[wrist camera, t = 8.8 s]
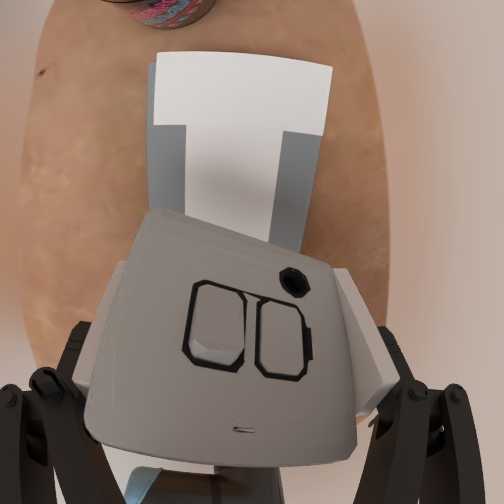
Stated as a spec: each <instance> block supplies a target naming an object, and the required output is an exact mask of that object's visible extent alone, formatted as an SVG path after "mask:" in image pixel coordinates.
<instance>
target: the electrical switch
mask: <svg viewBox="0 0 504 504" xmlns="http://www.w3.org/2000/svg"><path fill="white" fill-rule="evenodd" d="M84 420H85V425H86V428H87V429H88V430H89V432H90V434H91V436H92V438H93V439H95V440H96V441H98V442H100V443H102V444H104V445H106V446H109V447H113V448H117V449H121V450H125V451H129V452H133V453H138V454H142V455H147V456H152V457H157V458H163V459H168V460H174V461H181V462H189V463H198V464H206V465H218V466H233V467H293V466H309V465H321V464H329V463H334V462H339V461H343V460H347V459H348V458H349V457H350V455H351V454H352V452H353V451H354V449H355V448H356V446H357V430H356V414H355V402H354V390H353V380H352V370H351V361H350V353H349V345H348V339H347V333H346V328H345V323H344V317H343V312H342V307H341V303H340V298H339V293H338V289H337V286H336V282H335V278H334V274H333V271H332V268H331V266H330V265H329V264H327V263H326V262H323V261H320V260H317V259H314V258H312V257H309V256H306V255H303V254H300V253H297V252H294V251H291V250H288V249H285V248H282V247H280V246H277V245H274V244H271V243H268V242H265V241H262V240H259V239H256V238H253V237H250V236H247V235H244V234H241V233H238V232H235V231H232V230H229V229H226V228H223V227H220V226H217V225H214V224H211V223H208V222H205V221H202V220H199V219H196V218H193V217H190V216H187V215H184V214H181V213H178V212H175V211H172V210H169V209H166V208H156V209H153V210H151V211H148V212H147V213H146V215H145V217H144V219H143V221H142V223H141V225H140V228H139V230H138V232H137V235H136V237H135V240H134V242H133V245H132V247H131V250H130V252H129V255H128V258H127V261H126V263H125V266H124V269H123V272H122V274H121V277H120V280H119V283H118V286H117V289H116V292H115V295H114V298H113V301H112V304H111V307H110V311H109V314H108V317H107V320H106V324H105V327H104V331H103V334H102V338H101V341H100V345H99V349H98V353H97V357H96V361H95V365H94V369H93V373H92V377H91V382H90V386H89V391H88V396H87V401H86V406H85V411H84Z"/></svg>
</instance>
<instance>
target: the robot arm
mask: <svg viewBox="0 0 504 504" xmlns="http://www.w3.org/2000/svg"><path fill="white" fill-rule="evenodd" d="M125 263H126V261H121V260H119V262H118V264H117V266H116V268H115V271H114V273H113V275H112V277H111V279H110V281H109V284H108V286H107V288H106V290H105V293H104V295H103V297H102V299H101V302H100V304H99V307H98V309H97V311H96V314H95V316H94V319H93V321H92V322H85V321H80V322H79V323H78V324H77V325H76V326H75V327H74V328H73V329H72V332H71V334H70V336H69V339H68V341H67V344H66V346H65V349H64V351H63V354H62V356H61V359H60V361H59V364H58V367H57V369H56V370H55V369H53V368H51V367H42V368H40V369H37V370H36V371H35V372H34V373H33V374H32V376H31V378H30V380H29V387H30V388H31V389H32V391H22V390H21V389H20V388H19V387H17V386H16V385H14V384H7V385H5V386H4V387H2V388H1V390H0V504H57V498H56V490H55V480H54V469H55V472H56V475H57V479H58V482H59V485H60V488H61V491H62V494H63V496H64V499H65V502H66V504H285V502H284V495H283V488H282V482H281V476H280V470H279V467H233V466H218V465H214V474H202V473H190V472H180V471H172V470H164V469H163V468H151V467H143V466H142V467H137V468H135V469H134V470H133V471H132V473H131V475H130V477H129V480H128V483H127V487H126V491H125V495H124V497H123V495H122V493H121V491H120V489H119V487H118V484H117V482H116V480H115V478H114V475H113V473H112V471H111V468H110V466H109V463H108V461H107V458H106V456H105V453H104V450H103V447H102V445H101V443H100V442H98V441H96V440H95V439H93V438H92V436H91V434H90V432H89V430H88V429H87V428H86V425H85V420H84V411H85V406H86V401H87V396H88V391H89V386H90V382H91V377H92V373H93V369H94V365H95V361H96V357H97V353H98V349H99V345H100V341H101V338H102V334H103V331H104V327H105V324H106V320H107V317H108V314H109V311H110V307H111V304H112V301H113V298H114V295H115V292H116V289H117V286H118V283H119V280H120V277H121V274H122V272H123V269H124V266H125ZM332 271H333V274H334V278H335V282H336V286H337V289H338V293H339V298H340V303H341V307H342V312H343V317H344V323H345V328H346V333H347V339H348V345H349V353H350V361H351V370H352V380H353V390H354V402H355V414H356V416H361V415H366V414H370V413H371V412H372V411H373V410H374V409H375V408H376V407H377V410H378V413H379V414H378V415H377V416H376V417H375V418H374V419H373V420H372V421H371V422H370V423H369V425H368V427H371V426H372V425H373V424H374V427H373V432H372V437H371V441H370V446H369V450H368V454H367V458H366V462H365V465H364V469H363V473H362V476H361V480H360V483H359V486H358V490H357V493H356V496H355V499H354V502H353V504H418V499H419V504H485V491H484V490H485V489H484V480H483V471H482V463H481V457H480V450H479V445H478V439H477V434H476V429H475V424H474V420H473V416H472V411H471V407H470V403H469V400H468V396H467V393H466V391H465V390H464V389H463V387H462V386H460V385H458V384H450V385H449V386H447V387H446V388H445V389H444V390H434V389H428V388H427V386H426V385H425V384H424V383H422V382H420V381H418V380H415V379H414V377H413V375H412V373H411V370H410V368H409V366H408V364H407V362H406V360H405V358H404V356H403V354H402V352H401V350H400V348H399V345H397V341H396V340H395V338H394V336H393V334H392V333H391V332H390V331H389V330H388V329H387V328H386V327H385V326H380V327H376V325H375V323H374V321H373V319H372V317H371V315H370V313H369V311H368V309H367V307H366V305H365V303H364V301H363V299H362V297H361V295H360V293H359V291H358V289H357V287H356V285H355V283H354V281H353V280H352V278H351V276H350V274H349V272H348V270H347V268H332ZM442 426H443V427H444V430H443V428H442ZM53 465H54V467H53Z"/></svg>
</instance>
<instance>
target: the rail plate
mask: <svg viewBox="0 0 504 504" xmlns="http://www.w3.org/2000/svg"><path fill="white" fill-rule="evenodd" d="M332 70H333V67H331V66H326V65H322V64H317V63H312V62H306V61H301V60H295V59H288V58H281V57H274V56H266V55H256V54H245V53H231V52H204V51H185V52H158V53H157V62H149V72H148V91H147V181H148V201H149V211H151V210H153V209H156V208H166V209H169V210H172V211H175V212H178V213H181V214H184V215H187V216H190V217H193V218H196V219H199V220H202V221H205V222H208V223H211V224H214V225H217V226H220V227H223V228H226V229H229V230H232V231H235V232H238V233H241V234H244V235H247V236H250V237H253V238H256V239H259V240H262V241H265V242H268V243H271V244H274V245H277V246H280V247H282V248H285V249H288V250H291V251H294V252H297V253H300V249H301V245H302V240H303V235H304V230H305V225H306V220H307V215H308V210H309V205H310V200H311V195H312V189H313V184H314V179H315V173H316V167H317V162H318V156H319V150H320V144H321V138H322V136H323V132H324V125H325V119H326V112H327V106H328V99H329V92H330V85H331V77H332Z"/></svg>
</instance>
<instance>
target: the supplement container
mask: <svg viewBox="0 0 504 504" xmlns="http://www.w3.org/2000/svg"><path fill="white" fill-rule="evenodd" d="M102 1H104V2H107V3H109V4H111V5H113V6H114V7H116V8H118V9H119V10H121V11H123V12H124V13H126V14H128V15H129V16H131V17H133V18H134V19H136V20H138V21H139V22H141V23H142V24H144V25H146V26H149V27H152V28H157V29H173V28H178V27H182V26H185V25H187V24H190V23H192V22H194V21H195V20H197V19H199V18H200V17H201V16H203V15H204V14H205V13H206V12H207V11H208V10H209V9H210V8H211V6H212V5H213V3H214V2H215V0H102Z"/></svg>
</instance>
